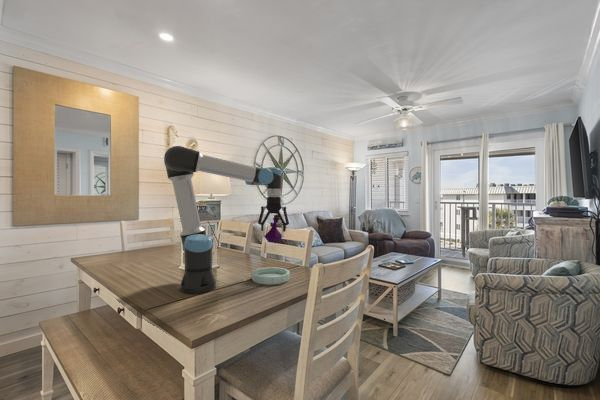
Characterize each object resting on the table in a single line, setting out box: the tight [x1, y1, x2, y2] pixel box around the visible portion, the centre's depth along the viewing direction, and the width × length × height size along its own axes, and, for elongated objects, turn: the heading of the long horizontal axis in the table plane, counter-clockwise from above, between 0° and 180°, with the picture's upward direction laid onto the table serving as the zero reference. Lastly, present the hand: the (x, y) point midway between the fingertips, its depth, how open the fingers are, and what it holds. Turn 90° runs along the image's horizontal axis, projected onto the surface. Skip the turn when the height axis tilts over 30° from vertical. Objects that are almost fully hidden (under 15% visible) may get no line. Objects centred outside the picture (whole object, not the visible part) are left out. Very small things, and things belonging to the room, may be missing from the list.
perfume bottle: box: [263, 214, 283, 244], centre depth 159 cm, size 8×8×18 cm
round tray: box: [251, 266, 291, 286], centre depth 145 cm, size 18×18×4 cm
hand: (273, 237), depth 159 cm, fingers closed on perfume bottle, 9 cm apart
